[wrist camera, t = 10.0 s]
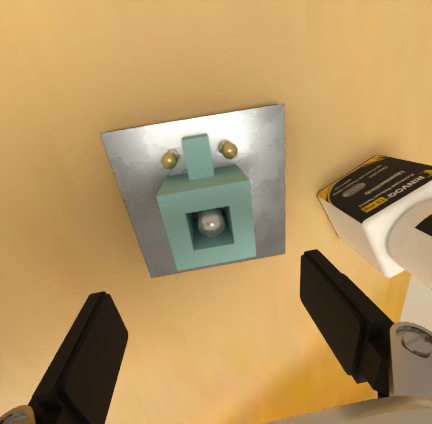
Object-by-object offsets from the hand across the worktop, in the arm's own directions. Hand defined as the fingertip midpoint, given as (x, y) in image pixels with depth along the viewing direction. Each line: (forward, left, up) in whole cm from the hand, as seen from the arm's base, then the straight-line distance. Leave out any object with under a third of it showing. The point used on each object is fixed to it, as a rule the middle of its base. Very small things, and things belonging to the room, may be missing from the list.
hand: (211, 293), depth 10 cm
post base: (0, 0, -12) cm, 12 cm away
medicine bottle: (+4, -16, -13) cm, 21 cm away
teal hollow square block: (+2, 0, -11) cm, 11 cm away
